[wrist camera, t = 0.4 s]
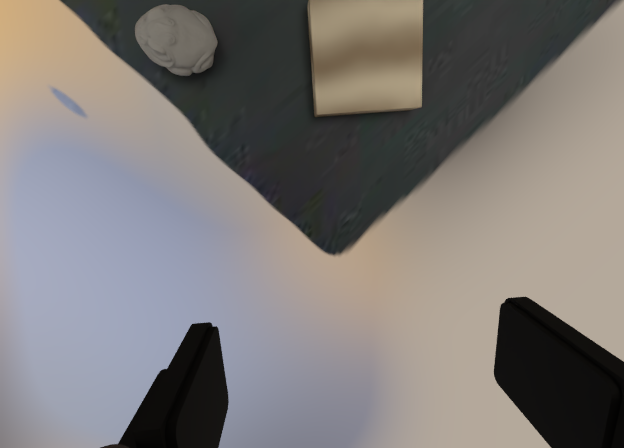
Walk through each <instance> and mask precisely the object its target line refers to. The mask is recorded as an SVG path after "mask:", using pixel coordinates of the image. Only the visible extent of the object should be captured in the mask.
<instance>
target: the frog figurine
mask: <svg viewBox="0 0 624 448" xmlns="http://www.w3.org/2000/svg"><path fill="white" fill-rule="evenodd" d="M135 35H136V39H137V41H138V43H139V45H140V46H141V48H142V49H143V50H144V52H145V53H146V54H147V56H148V57H149V58H150V59H151V60H152V61H153V62H155V63H156V64H158V65H160V66H164V67H166V68H167V69H168V70H169V71H170V72H172V73H174V74H176V75H180V76H189V75H191V74H192V73H193V72H194V73H201V72H203V71H205V70H206V69H208V68H210V67H211V66H212V65H213V60H214V53H215V49H216V47H217V43H218V41H217V38H216V36H215V33H214V32H213V28H212V26H211V24H210V22H209V20H208V19H207V18H206V17H205V16H204V15H202V14H200V13H198V12H196V11H195V10H192V11H190V10H189V9H187V8H186V7H184V6H181V5H171V6H170V5H167V4H164V5H160V6H157V7H154V8H152V9H151V10H150V11H148V12H147V13H145V14H144V15H143V16H142V17H141V18H140V19H139V20H138V21H137V23H136V25H135Z"/></svg>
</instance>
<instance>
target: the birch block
mask: <svg viewBox="0 0 624 448" xmlns="http://www.w3.org/2000/svg"><path fill="white" fill-rule="evenodd" d="M307 9H308V24H309V39H310V54H311V69H312V84H313V100H314V115H315V117H322V116H336V115H350V114H364V113H378V112H392V111H406V110H412V109H416V108H420V107H422V39H423V0H308V7H307Z"/></svg>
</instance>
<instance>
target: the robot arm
mask: <svg viewBox="0 0 624 448" xmlns="http://www.w3.org/2000/svg"><path fill="white" fill-rule="evenodd" d="M494 376H495V379H496V381H497V383H498V385H499V386H500V387H501V388H502V389H503V391H504V392H505V393H506V394H507V395H508V396H509V398H510V399H511V400H512V401H513V402H514V404H515V405H516V406H517V407H518V408H519V410H520V411H521V412H522V413H523V414H524V416H525V417H526V418H527V419H528V420H529V421H530V423H531V424H532V425H533V426H534V428H535V429H536V430H537V431H538V432H539V434H540V435H541V436H542V437H543V438H544V440H545V441H546V442H547V443H548V444H549V445H550V447H551V448H624V362H623V361H622V360H620V359H619V358H617V357H616V356H614V355H612V354H611V353H610V352H608V351H607V350H605V349H604V348H602V347H601V346H599V345H598V344H596V343H595V342H593V341H592V340H590V339H589V338H587V337H586V336H584V335H583V334H581V333H580V332H578V331H577V330H575V329H574V328H573V327H571V326H570V325H568V324H567V323H565V322H563V321H562V320H561V319H559V318H557V317H556V316H555V315H553V314H552V313H550V312H549V311H547V310H546V309H544V308H543V307H541V306H540V305H538V304H537V303H535V302H534V301H532V300H531V299H529V298H527V297H516V298H508V299H506V300H505V302H504V303H503V304H501V308H500V315H499V326H498V335H497V345H496V357H495V365H494ZM227 409H228V391H227V385H226V378H225V371H224V364H223V358H222V351H221V344H220V337H219V331H218V328H217V327H212V324H211V323H197V324H192V325H191V326H190V328H189V330H188V332H187V334H186V336H185V337H184V339H183V341H182V343H181V345H180V347H179V349H178V350H177V352H176V354H175V356H174V358H173V359H172V361H171V363H170V365H169V367H168V368H167V369H164V370H161V371H160V373H159V374H158V375H157V377H156V379H155V381H154V382H153V384H152V386H151V388H150V389H149V391H148V393H147V395H146V396H145V398H144V400H143V402H142V403H141V405H140V407H139V408H138V410H137V412H136V414H135V416H134V417H133V419H132V421H131V422H130V424H129V426H128V428H127V429H126V431H125V433H124V435H123V436H122V438H121V440H120V442H119V443H118V444H114V445H108V446H104V447H101V448H218V447H219V442H220V438H221V434H222V430H223V426H224V422H225V418H226V413H227Z"/></svg>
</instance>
